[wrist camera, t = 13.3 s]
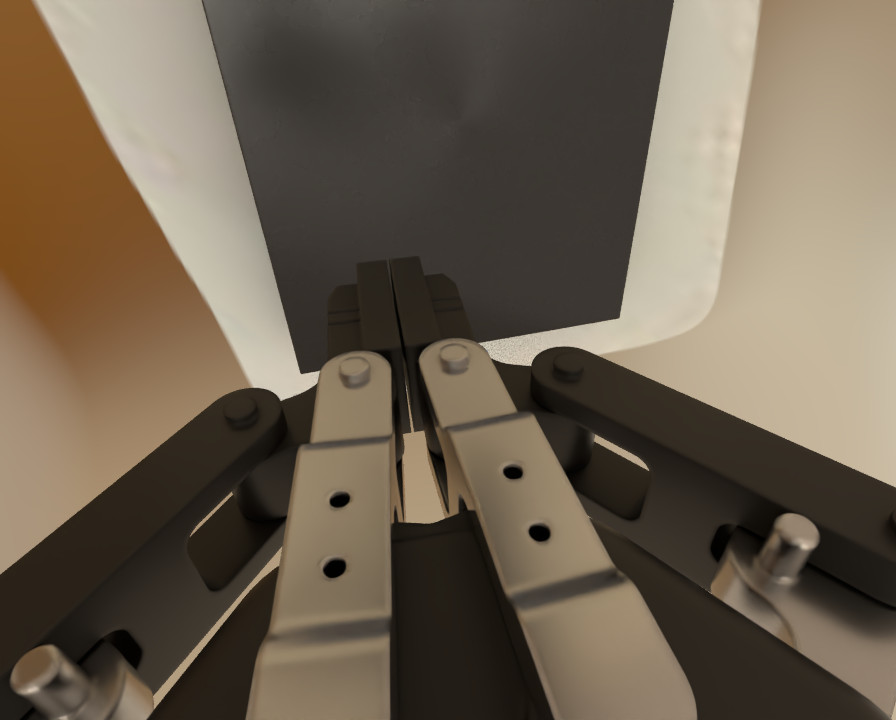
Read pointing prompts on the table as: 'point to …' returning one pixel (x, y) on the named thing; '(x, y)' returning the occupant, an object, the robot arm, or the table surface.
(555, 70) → the laptop screen
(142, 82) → the table surface
